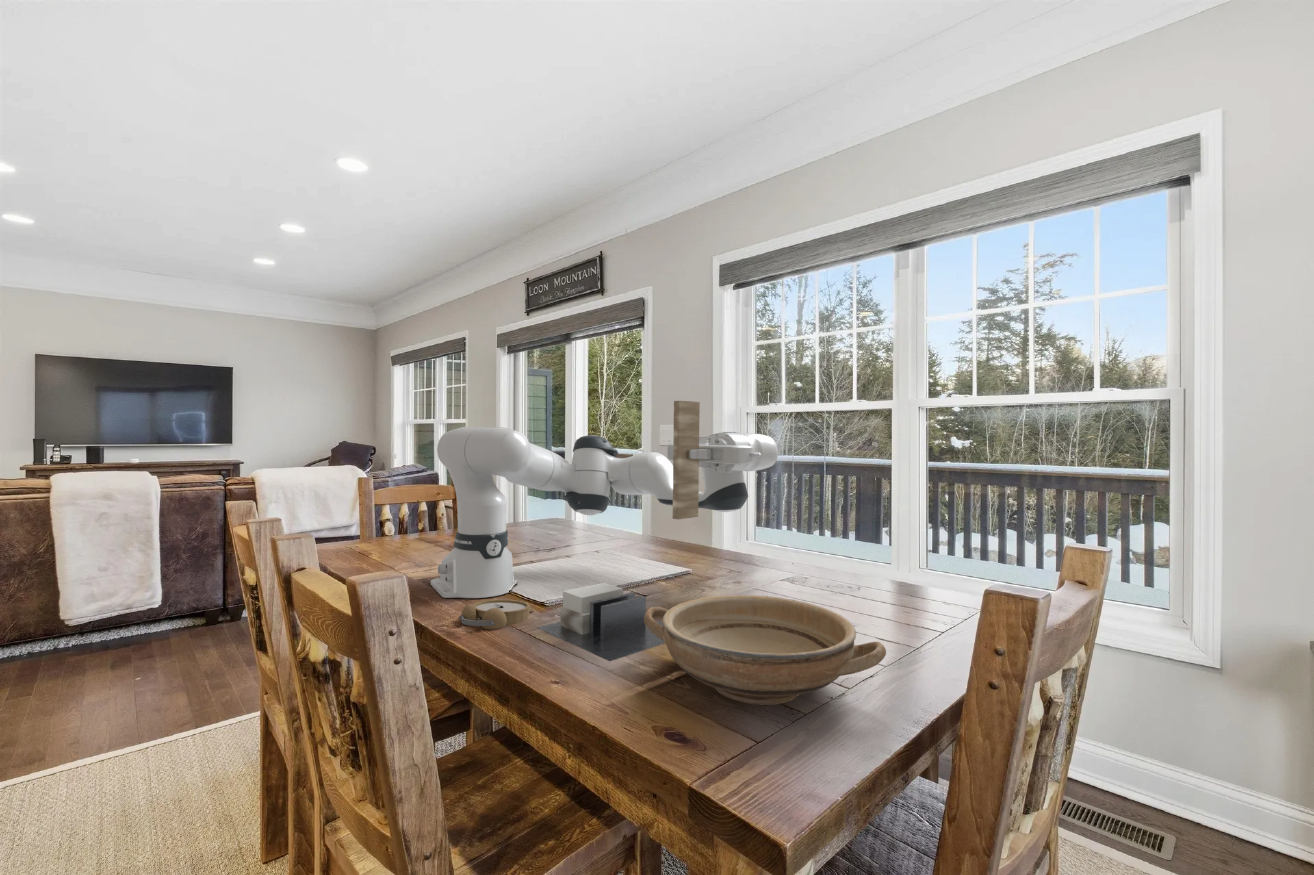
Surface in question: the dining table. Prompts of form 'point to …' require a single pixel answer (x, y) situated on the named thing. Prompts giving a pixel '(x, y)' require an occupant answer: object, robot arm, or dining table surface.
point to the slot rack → (612, 628)
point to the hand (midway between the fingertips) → (683, 454)
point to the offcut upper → (588, 596)
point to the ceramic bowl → (761, 645)
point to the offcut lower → (575, 621)
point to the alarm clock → (495, 613)
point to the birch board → (685, 459)
